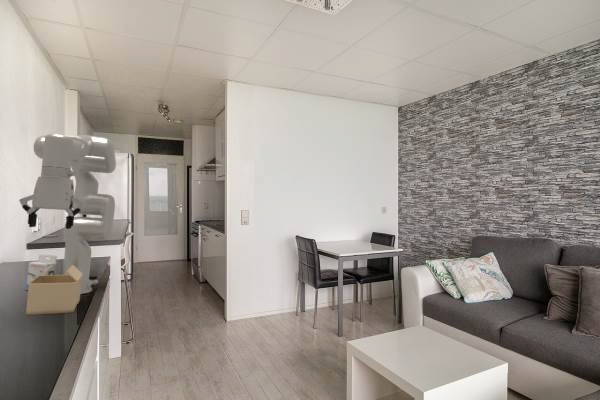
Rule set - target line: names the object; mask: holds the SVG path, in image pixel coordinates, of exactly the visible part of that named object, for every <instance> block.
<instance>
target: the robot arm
mask: <svg viewBox="0 0 600 400" xmlns="http://www.w3.org/2000/svg"><path fill="white" fill-rule="evenodd" d="M33 153H34V154H35V156H37V158H39V159H41V160H42V162H41V170H40V171H41V172H40V173H41V174H40V176H38V177H37V180H36V182H35V185H34V186H35V187H34V189H33V194H31V195H28V196H26V197H25V196H24V197H22V198H20V199H19V202H20V205H21V208H22V209H23V210H24V211H25V212H26V213H27V215H28V218H27V225H28V228H35V227H37V218H38V213H37V212H38V211H39V210H41V209H43V210H61V211H65V212H66V213H67V215H68V216H66V220H65V223H64V238H65V242H64V243H65V245H64V246H65V247H64V258H63V265H62V275H68V274H67V273H66V271H67V270H68V269H69V268H70V267H71V266H72V265H74V266H75V267H76V268H77V269H78V270H79V271H80V272H81V273H82V274H83V275H82V281H81V292H80V295H84V294H88V293H91V292H92V291H93V287H92V285H98V284H99V280H98V279H90V272H91V271H90V269H91V260H92V248H91V246H90V245H89V243H88V242H87V241H88V240H91V241H107V240H109V239H110V238H111V236H112V233H113V228H114V219H115V212H116V211H115V210H116V201H115V198H114V197H113V196H112V195H110V194H107V193H106V194H104V193H99V185H100V184H99V182H98V179H96V177H95V176H94V175H93V174H92V173H100V174H111V173H114V172H115V169H116V167H117V166H116V165H117V162H116V161H117V160H116V155H115V148H114V145H113V142H112V140H111V139H109V138H108V137H105V136H96V135H90V134H89V135H88V134H77V135H63V134H58V133H50V134H46V135H40V136H38V137H37V138H36V139H35V141H34V142H33ZM91 172H92V173H91ZM72 177H74V179H75V185H74V180H73V179H71V178H72ZM29 201H31V205H32V207H31V206H30V205H29V204H28V202H29ZM77 214H78V215H87V216H88V215H89V216H91V217H89V216H88V217H87V216H76V215H77ZM92 216H100V217H92Z"/></svg>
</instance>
